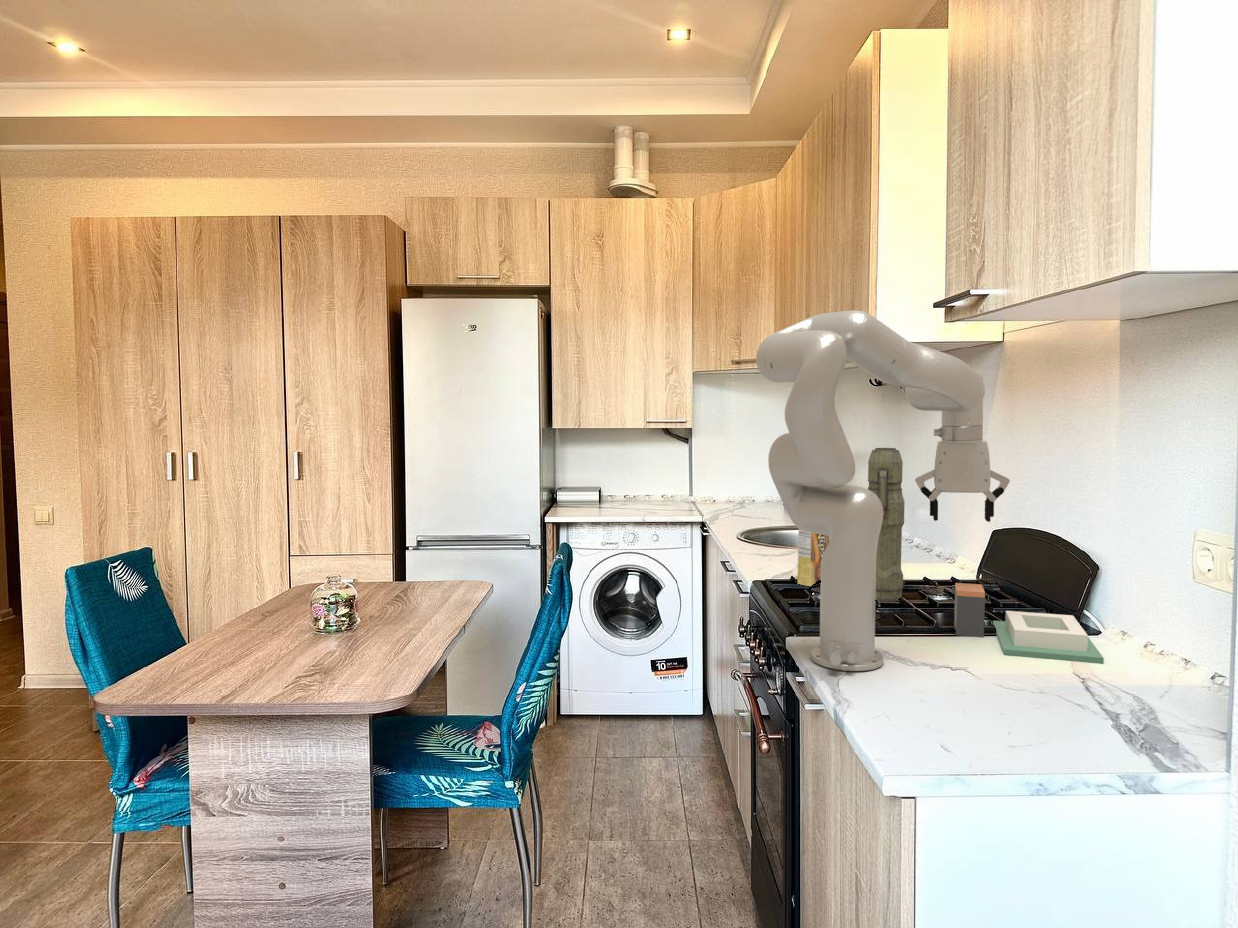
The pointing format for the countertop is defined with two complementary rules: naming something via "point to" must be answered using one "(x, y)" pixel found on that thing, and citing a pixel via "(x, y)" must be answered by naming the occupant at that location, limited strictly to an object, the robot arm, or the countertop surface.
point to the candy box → (810, 556)
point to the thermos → (888, 520)
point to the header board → (1043, 651)
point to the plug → (969, 610)
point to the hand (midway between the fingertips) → (961, 520)
